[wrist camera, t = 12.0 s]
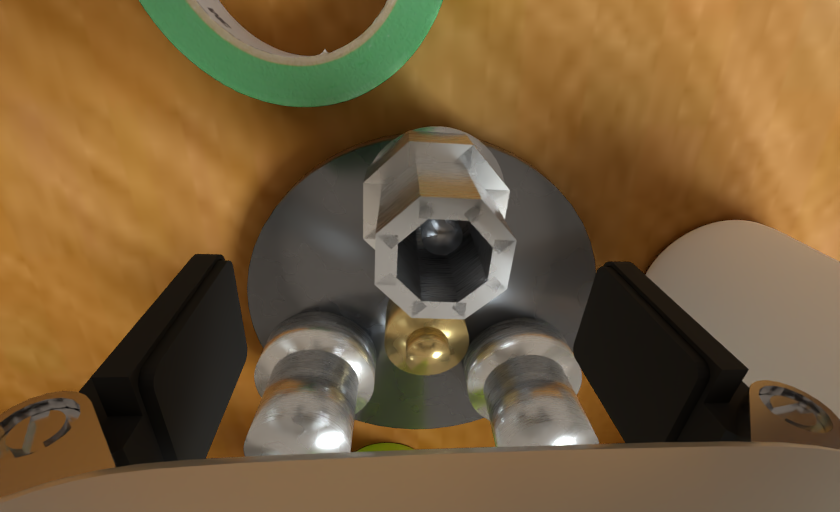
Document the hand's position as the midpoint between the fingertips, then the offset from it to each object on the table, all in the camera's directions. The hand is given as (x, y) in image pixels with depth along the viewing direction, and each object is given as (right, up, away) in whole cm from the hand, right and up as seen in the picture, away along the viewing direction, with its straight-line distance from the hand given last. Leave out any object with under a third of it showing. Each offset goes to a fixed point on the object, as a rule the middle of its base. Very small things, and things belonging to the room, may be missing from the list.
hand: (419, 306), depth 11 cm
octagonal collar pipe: (+1, +4, +8) cm, 9 cm away
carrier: (0, -1, +12) cm, 12 cm away
